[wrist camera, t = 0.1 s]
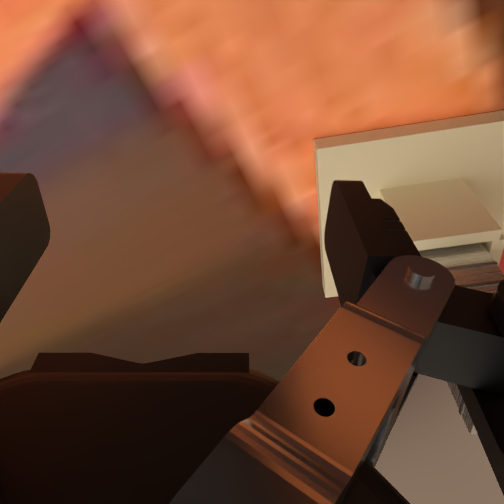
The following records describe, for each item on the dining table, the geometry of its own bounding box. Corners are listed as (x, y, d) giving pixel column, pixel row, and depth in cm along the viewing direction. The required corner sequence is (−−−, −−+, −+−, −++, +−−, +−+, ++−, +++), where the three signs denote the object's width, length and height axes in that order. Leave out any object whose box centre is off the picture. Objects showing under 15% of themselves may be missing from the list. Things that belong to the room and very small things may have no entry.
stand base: (313, 139, 29) (332, 199, 24) (526, 106, 28) (601, 160, 23) (322, 285, 38) (338, 355, 32) (485, 264, 37) (531, 332, 31)
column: (389, 203, 31) (483, 389, 19) (450, 194, 30) (582, 378, 19) (386, 248, 33) (467, 435, 22) (442, 241, 33) (554, 426, 22)
